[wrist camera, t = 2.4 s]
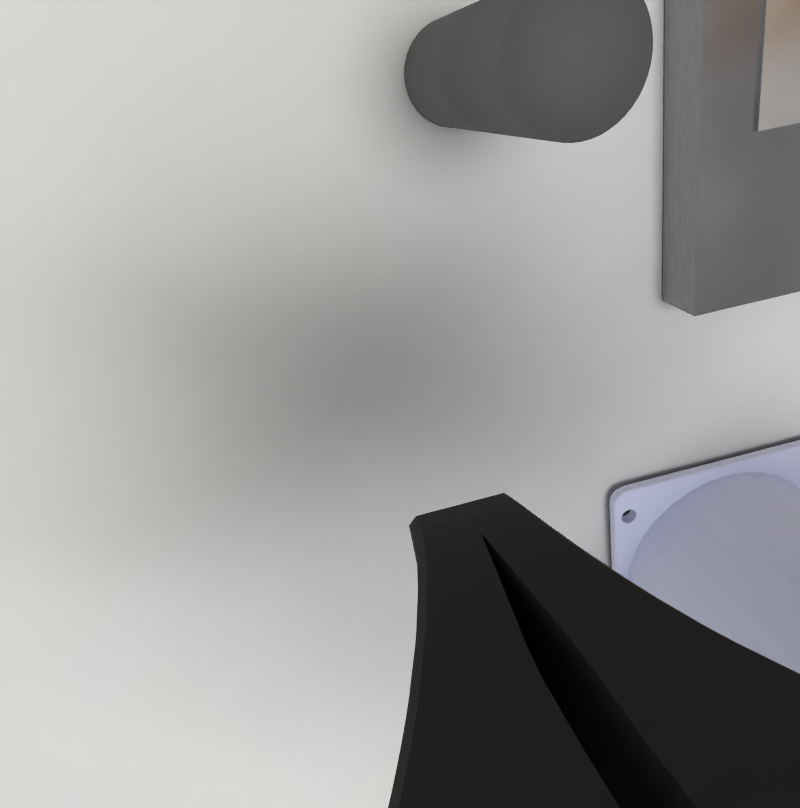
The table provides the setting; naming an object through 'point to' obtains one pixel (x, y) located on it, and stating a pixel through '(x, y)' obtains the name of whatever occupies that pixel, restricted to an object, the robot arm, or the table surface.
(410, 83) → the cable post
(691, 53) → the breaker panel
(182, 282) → the table surface
